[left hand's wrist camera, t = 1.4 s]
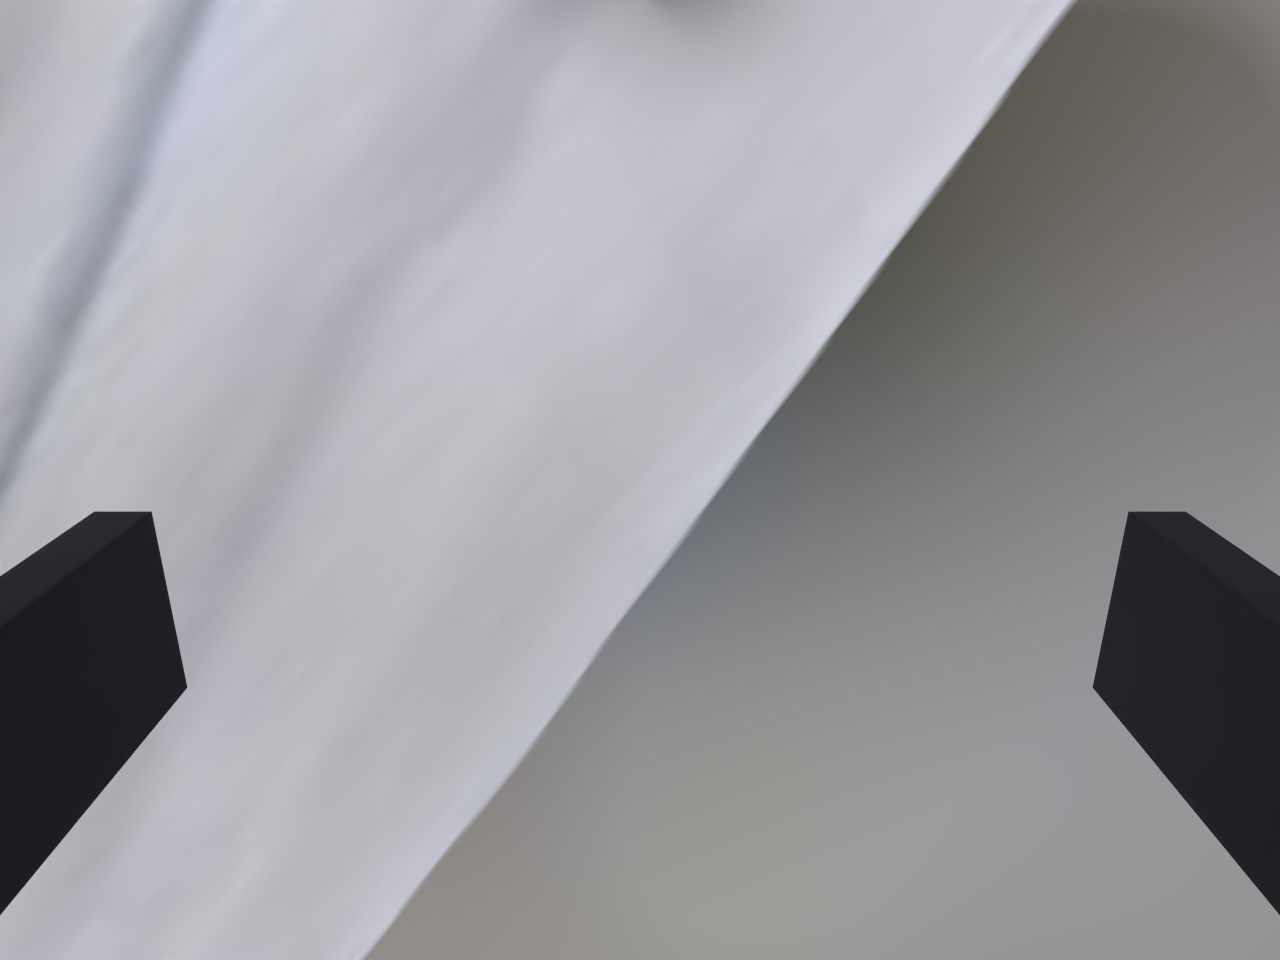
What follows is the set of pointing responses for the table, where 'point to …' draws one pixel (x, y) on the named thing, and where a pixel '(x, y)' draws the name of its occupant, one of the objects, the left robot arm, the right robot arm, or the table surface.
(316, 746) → the table surface
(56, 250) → the table surface
